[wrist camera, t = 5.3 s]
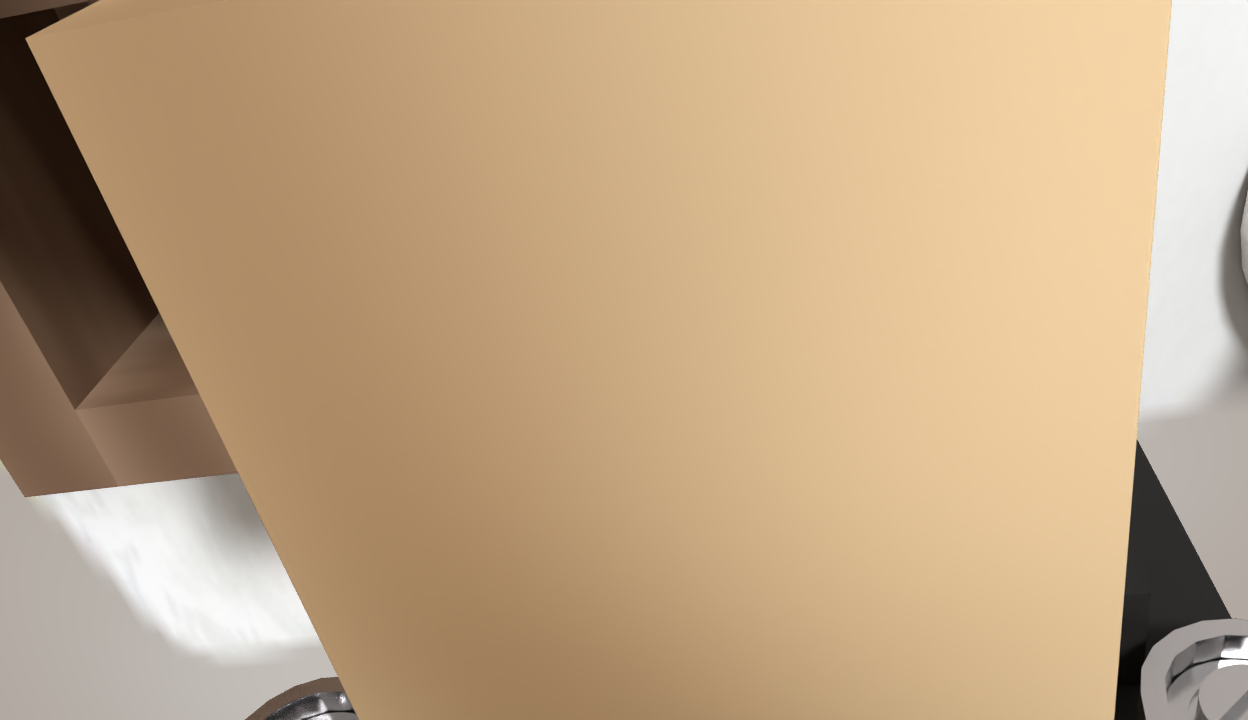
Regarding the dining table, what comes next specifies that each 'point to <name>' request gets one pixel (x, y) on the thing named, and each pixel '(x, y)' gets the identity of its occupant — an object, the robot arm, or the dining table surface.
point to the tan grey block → (659, 335)
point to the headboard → (79, 309)
